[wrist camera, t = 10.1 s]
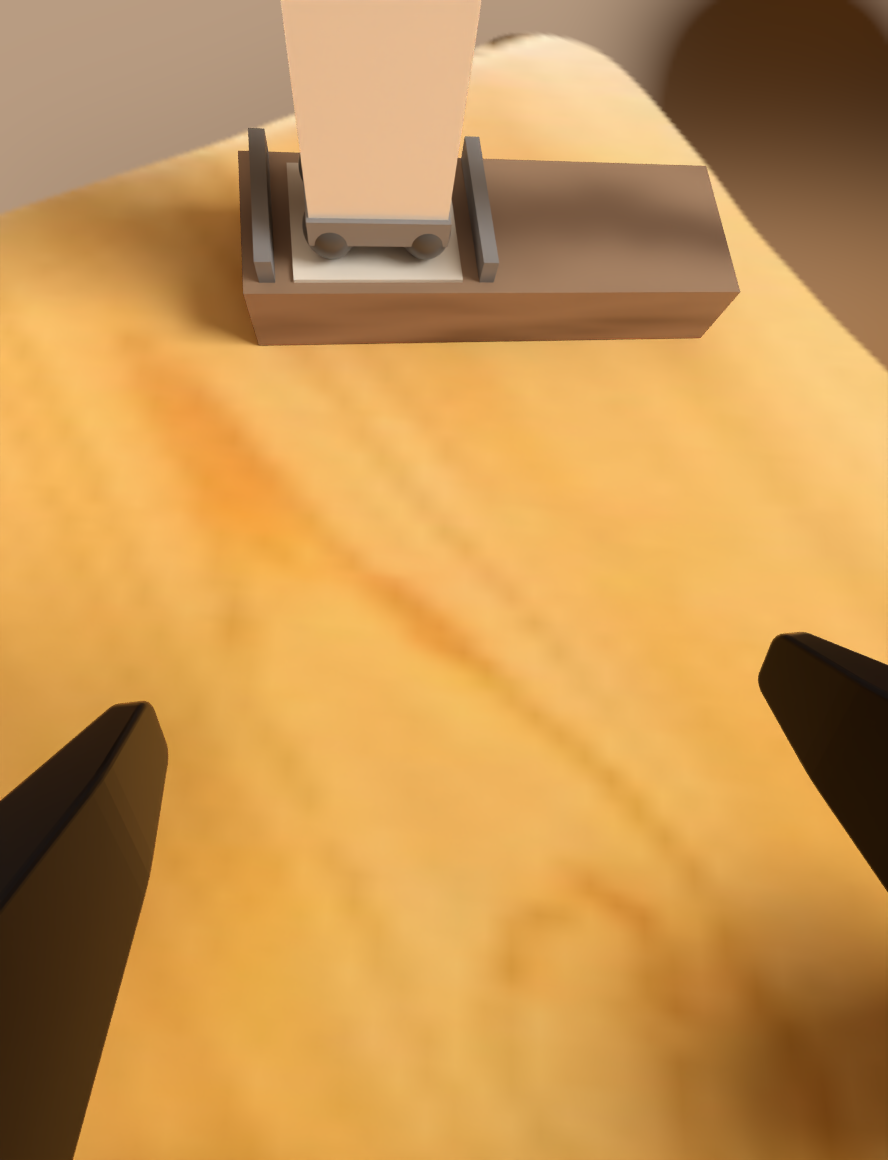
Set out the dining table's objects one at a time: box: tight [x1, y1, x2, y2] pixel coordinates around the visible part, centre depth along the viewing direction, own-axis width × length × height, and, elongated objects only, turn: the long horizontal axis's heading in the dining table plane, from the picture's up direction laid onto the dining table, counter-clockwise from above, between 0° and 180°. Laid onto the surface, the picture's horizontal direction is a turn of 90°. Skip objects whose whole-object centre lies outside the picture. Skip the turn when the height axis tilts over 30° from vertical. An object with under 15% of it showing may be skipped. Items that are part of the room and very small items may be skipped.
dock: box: [238, 128, 740, 345], centre depth 24 cm, size 7×21×4 cm, turn 97°
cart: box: [280, 0, 482, 260], centre depth 16 cm, size 5×6×12 cm
